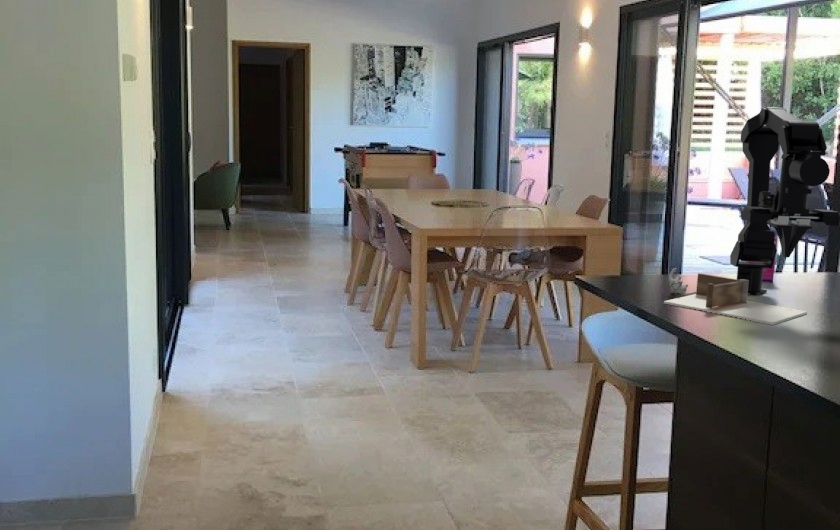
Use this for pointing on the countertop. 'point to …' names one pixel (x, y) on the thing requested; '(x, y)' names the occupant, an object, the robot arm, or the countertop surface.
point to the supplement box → (768, 270)
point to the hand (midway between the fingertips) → (786, 257)
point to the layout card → (740, 309)
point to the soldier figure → (678, 285)
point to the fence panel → (723, 294)
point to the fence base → (706, 279)
